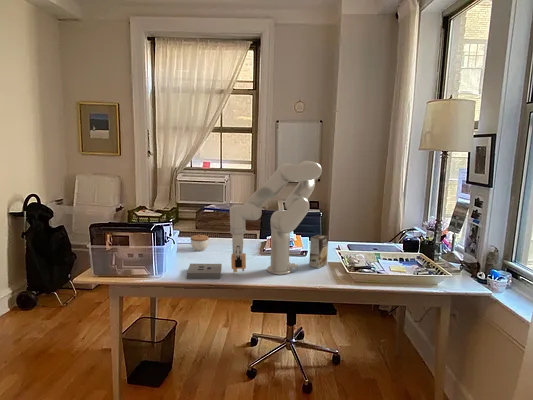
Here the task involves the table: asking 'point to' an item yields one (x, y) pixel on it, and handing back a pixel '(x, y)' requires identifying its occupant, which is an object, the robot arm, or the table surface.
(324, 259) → the coffee box
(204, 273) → the socket
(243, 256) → the plug
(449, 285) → the table surface
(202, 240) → the lidded jar
